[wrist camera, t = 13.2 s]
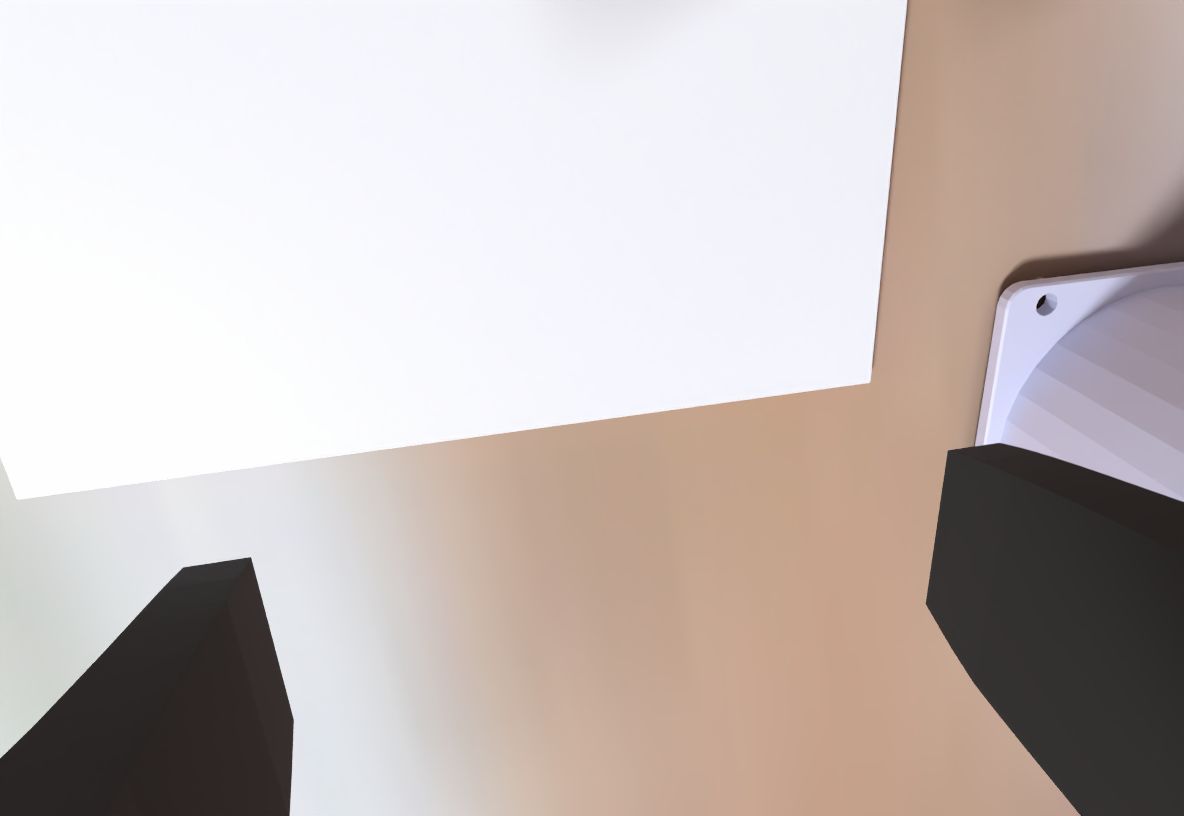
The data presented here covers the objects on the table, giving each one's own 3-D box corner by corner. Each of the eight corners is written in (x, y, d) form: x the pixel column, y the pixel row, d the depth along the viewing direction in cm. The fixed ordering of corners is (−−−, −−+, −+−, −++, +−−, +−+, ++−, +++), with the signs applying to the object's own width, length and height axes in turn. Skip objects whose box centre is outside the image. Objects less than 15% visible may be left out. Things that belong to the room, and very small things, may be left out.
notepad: (923, -259, 15) (933, -263, 15) (864, 377, 21) (870, 382, 20) (-261, -246, 12) (-275, -251, 12) (23, 492, 18) (16, 499, 17)
